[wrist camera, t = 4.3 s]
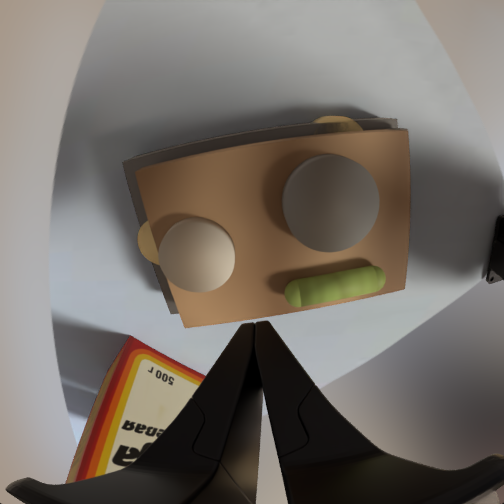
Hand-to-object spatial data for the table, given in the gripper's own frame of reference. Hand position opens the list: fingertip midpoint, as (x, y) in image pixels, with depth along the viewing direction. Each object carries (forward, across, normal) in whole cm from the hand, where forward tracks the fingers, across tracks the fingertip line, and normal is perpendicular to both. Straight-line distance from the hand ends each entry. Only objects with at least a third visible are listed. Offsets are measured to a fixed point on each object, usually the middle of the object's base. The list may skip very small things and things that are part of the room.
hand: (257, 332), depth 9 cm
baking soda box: (+10, +11, +14) cm, 20 cm away
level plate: (+8, -2, 0) cm, 8 cm away
